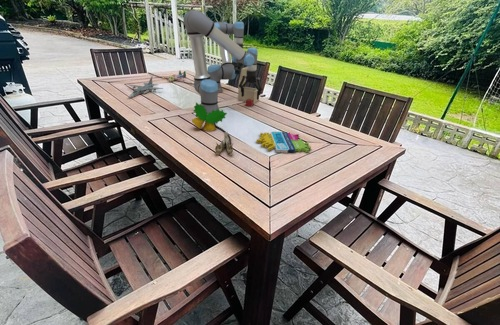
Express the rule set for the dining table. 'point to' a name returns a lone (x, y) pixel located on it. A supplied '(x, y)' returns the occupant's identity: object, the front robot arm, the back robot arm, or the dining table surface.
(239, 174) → the dining table surface
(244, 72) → the lid
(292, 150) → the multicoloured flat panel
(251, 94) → the chest
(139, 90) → the airplane
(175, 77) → the toy
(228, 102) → the dining table surface
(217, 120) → the ornament
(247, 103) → the block
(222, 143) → the jawbone
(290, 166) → the dining table surface
